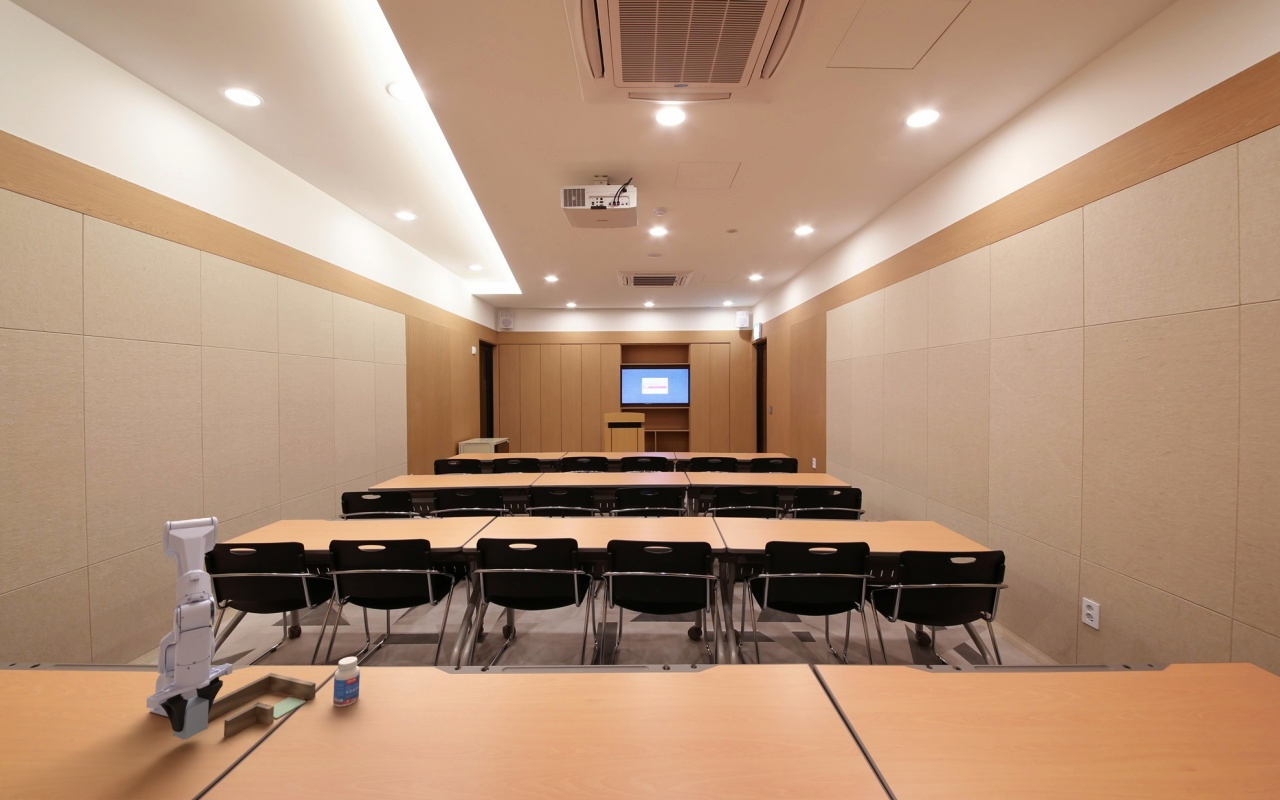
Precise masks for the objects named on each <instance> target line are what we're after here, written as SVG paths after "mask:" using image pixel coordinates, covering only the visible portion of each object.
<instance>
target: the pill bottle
mask: <svg viewBox="0 0 1280 800" xmlns="http://www.w3.org/2000/svg"><path fill="white" fill-rule="evenodd" d="M337 665H338V667H337V670H336V671H335V673H334V677H333V678H334V679H333V697H332V698H333V700H332V701H333V705H334V707H337V708H342V706H343V707H348V706H350V705H352V703H353V704H354V703H355V701H356V700H357V699H358V700H359V696H360V677H361V675H360V674H361V669H360V667H359V666H358V657H356V656H347V657H344V658H342V659H340V660H339V661H338V664H337ZM358 700H357V701H358ZM357 701H356V702H357ZM347 705H348V706H347Z"/></svg>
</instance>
